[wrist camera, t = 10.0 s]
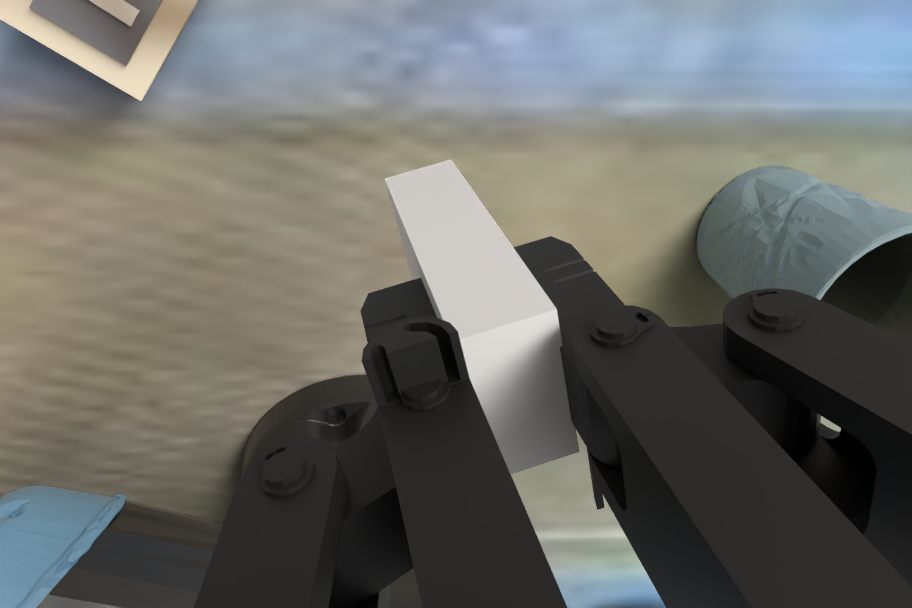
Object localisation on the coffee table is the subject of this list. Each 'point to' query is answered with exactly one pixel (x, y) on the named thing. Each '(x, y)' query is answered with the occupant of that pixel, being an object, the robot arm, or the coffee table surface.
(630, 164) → the coffee table surface
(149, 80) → the birch block
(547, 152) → the coffee table surface
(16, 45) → the coffee table surface
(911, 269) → the teal cup
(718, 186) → the coffee table surface
